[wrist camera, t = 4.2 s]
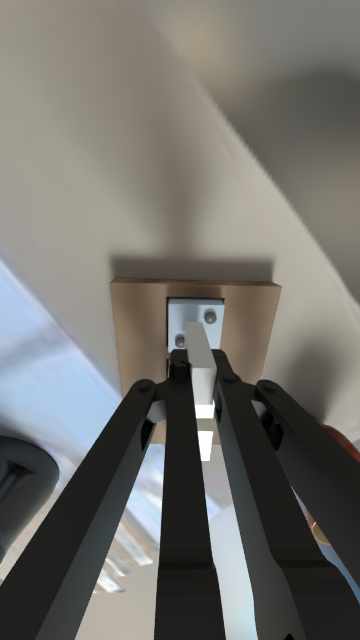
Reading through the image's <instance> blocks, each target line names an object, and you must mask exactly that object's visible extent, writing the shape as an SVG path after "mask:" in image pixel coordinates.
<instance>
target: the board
mask: <svg viewBox="0 0 360 640" xmlns="http://www.w3.org/2000/svg"><path fill="white" fill-rule="evenodd" d="M281 289H282V286H279V285H277V284H275V283H273V282H240V281H201V280H161V279H121V278H116V279H114V280H113V281H111V282H110V291H111V299H112V308H113V317H114V325H115V334H116V343H117V351H118V360H119V368H120V377H121V386H122V394H123V399H124V397H125V396H126V394H127V393H128V391H129V390H130V388H131V387H132V385H133V384H134V383H135V382H136V381H138V380H141V379H150V380H152V381H154V382H155V384H157V383H161V382H163V381H165V380H166V379H167V359H170V355H171V352H168V339H167V296H170V297H212V298H220V299H221V301H222V302H223V304H224V305H225V307H224V315H223V323H222V331H221V339H220V348H219V349H221V350H223V351H224V352H225V353H226V356H227V358H228V360H229V363H230V365H231V367H232V369H233V372H234V373H235V374H237V375H238V376H239V377H240V378H241V380H242V381H243V382H246V383H249V384H253V385H256V383H257V382H258V381H259V380H260V378H261V374H262V370H263V366H264V361H265V357H266V353H267V349H268V344H269V340H270V336H271V331H272V327H273V323H274V319H275V314H276V310H277V306H278V302H279V297H280V293H281ZM166 423H167V419H166V420H163V421H160V422H157V425H156V428H155V430H154V433H153V436H152V438H151V441H150V443H149V444H165V442H166ZM211 423H212V428H213V436H212V444H217V445H221V442H220V438H219V433H218V428H217V424H216V419H215V422H213V418H211Z"/></svg>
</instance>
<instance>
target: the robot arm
mask: <svg viewBox="0 0 360 640" xmlns="http://www.w3.org/2000/svg"><path fill="white" fill-rule="evenodd" d="M213 399H214V404H215V406H214V414H213V422H215V419H216V424H217V428H218V433H219V438H220V442H221V447H222V452H223V456H224V461H225V466H226V470H227V475H228V480H229V484H230V489H231V494H232V498H233V503H234V507H235V512H236V517H237V522H238V526H239V531H240V535H241V540H242V545H243V549H244V554H245V559H246V563H247V568H248V573H249V577H250V582H251V587H252V592H253V599H254V613H255V623H256V631H257V636H258V640H360V604H359V602H358V600H357V598H356V596H355V594H354V592H353V591H352V589H351V587H350V585H349V584H348V582H347V580H346V578H345V577H344V576H343V575H342V573H341V572H340V571H339V569H338V568H337V567H336V566H335V565H333V564H332V563H331V562H329V561H328V560H327V559H326V558H325V556H324V555H323V554H322V552H321V550H320V548H319V546H318V544H317V542H316V540H315V537H314V535H313V533H312V531H311V529H310V527H309V525H308V522H307V520H306V518H305V516H304V514H303V512H302V509H301V507H300V505H299V503H298V501H297V499H296V496H295V494H294V492H293V490H292V488H293V489H294V491H295V492H296V494H297V495H298V497H299V498H300V499H301V501H302V502H303V504H304V506H305V507H306V509H307V510H308V512H309V513H310V515H311V516H312V518H313V519H314V521H315V522H316V524H317V525H318V527H319V528H320V529H321V531H322V532H323V534H324V535H325V537H326V538H327V540H328V541H329V543H330V544H331V546H332V547H333V549H334V550H335V552H336V553H337V555H338V556H339V558H340V559H341V561H342V562H343V564H344V565H345V567H346V568H347V570H348V571H349V573H350V574H351V576H352V577H353V579H354V580H355V582H356V583H357V584H358V586H359V588H360V462H358V461H357V460H356V459H355V458H354V457H353V456H352V455H351V454H350V453H349V452H348V451H347V450H346V449H345V448H344V447H343V446H342V445H341V444H340V443H339V442H338V441H337V440H335V439H334V438H333V437H332V436H331V435H330V434H329V433H328V432H327V431H326V430H325V429H324V428H323V427H322V426H321V425H320V424H319V423H318V422H317V421H316V420H315V419H314V418H312V417H311V416H310V415H309V414H308V413H307V412H306V411H305V410H304V409H303V408H302V407H301V406H300V405H299V404H298V403H297V402H296V401H295V400H294V399H293V398H292V397H291V396H289V395H288V394H287V393H286V392H285V391H284V390H283V389H282V388H281V387H280V386H279V385H278V384H276V383H275V382H272V381H270V380H259V381H258V382H257V383H256V385H253V384H249V383H246V382H243V381H242V380H241V378H240V377H239V376H238V375H237V374H235V373H234V372H233V369H232V367H231V365H230V363H229V360H228V358H227V356H226V353H225V352H224V351H223V350H221V349H211V348H210V345H209V342H208V338H207V335H206V332H205V329H204V326H203V323H202V322H185V343H184V349H173V350H172V351H171V355H170V365H169V377H168V378H167V379H166V380H165V381H163V382H161V383H157V384H155V382H154V381H152V380H150V379H141V380H138V381H136V382H135V383H134V384H133V385H132V387H131V388H130V390H129V391H128V393H127V394H126V396H125V397H124V399H123V400H122V402H121V403H120V405H119V406H118V408H117V409H116V411H115V412H114V414H113V415H112V417H111V418H110V420H109V421H108V423H107V425H106V426H105V428H104V429H103V431H102V432H101V434H100V435H99V437H98V438H97V440H96V441H95V443H94V444H93V446H92V447H91V449H90V450H89V452H88V453H87V455H86V456H85V458H84V459H83V461H82V463H81V464H80V466H79V467H78V469H77V470H76V472H75V473H74V475H73V476H72V478H71V479H70V481H69V482H68V484H67V485H66V487H65V488H64V490H63V491H62V493H61V494H60V496H59V497H58V499H57V501H56V502H55V504H54V505H53V507H52V508H51V510H50V511H49V513H48V514H47V516H46V517H45V519H44V520H43V522H42V523H41V525H40V526H39V528H38V529H37V531H36V532H35V534H34V536H33V537H32V539H31V540H30V542H29V543H28V545H27V546H26V548H25V549H24V551H23V552H22V554H21V555H20V557H19V558H18V560H17V561H16V563H15V564H14V566H13V567H12V569H11V570H10V572H9V574H8V575H7V577H6V578H5V580H4V581H3V583H2V584H1V586H0V640H74V639H75V637H76V634H77V632H78V629H79V627H80V624H81V621H82V619H83V616H84V614H85V611H86V608H87V606H88V603H89V600H90V598H91V595H92V593H93V590H94V587H95V585H96V582H97V579H98V577H99V574H100V572H101V569H102V566H103V564H104V561H105V559H106V556H107V553H108V551H109V548H110V545H111V543H112V540H113V538H114V535H115V532H116V530H117V527H118V525H119V522H120V519H121V517H122V514H123V511H124V509H125V506H126V504H127V501H128V498H129V496H130V493H131V491H132V488H133V485H134V483H135V480H136V477H137V475H138V472H139V470H140V467H141V464H142V462H143V459H144V457H145V454H146V451H147V449H148V446H149V443H150V441H151V438H152V436H153V433H154V430H155V428H156V425H157V422H160V421H163V420H166V419H167V423H166V442H165V460H164V479H163V498H162V517H161V536H160V555H159V567H158V578H157V593H156V611H155V629H154V640H226V636H225V629H224V620H223V612H222V604H221V596H220V589H219V583H218V577H217V571H216V567H215V565H214V562H213V557H212V551H211V542H210V533H209V524H208V516H207V507H206V498H205V489H204V481H203V472H202V463H201V454H200V446H199V437H198V428H197V419H196V411H195V405H213ZM276 420H277V421H278V422H277V421H276ZM58 480H59V470H58V467H57V465H56V464H55V462H54V461H53V460H52V459H51V458H50V457H49V456H48V455H47V454H46V453H44V452H43V451H42V450H40V449H38V448H37V447H35V446H33V445H31V444H28V443H26V442H23V441H20V440H16V439H12V438H7V437H0V563H1V562H2V560H3V558H4V556H5V555H6V553H7V551H8V549H9V548H10V546H11V545H12V543H13V542H14V541H15V540H16V538H17V537H18V536H19V535H20V533H21V532H22V531H23V530H24V529H25V527H26V526H27V525H28V524H29V522H30V521H31V520H32V519H33V518H34V516H35V515H36V514H37V513H38V511H39V510H40V509H41V507H42V506H43V505H44V504H45V503H46V502H47V500H48V499H49V497H50V496H51V494H52V492H53V490H54V488H55V486H56V484H57V482H58ZM290 485H291V486H292V488H291V486H290Z"/></svg>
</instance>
